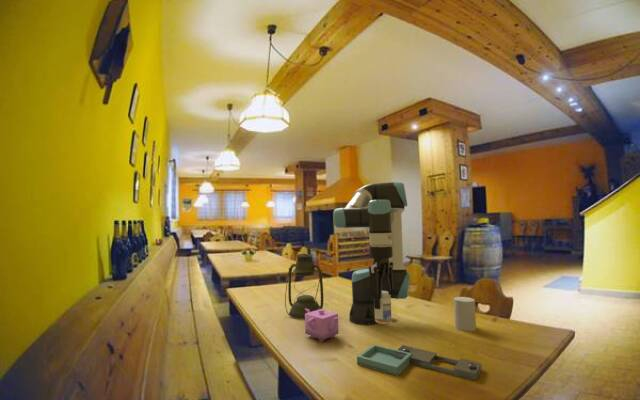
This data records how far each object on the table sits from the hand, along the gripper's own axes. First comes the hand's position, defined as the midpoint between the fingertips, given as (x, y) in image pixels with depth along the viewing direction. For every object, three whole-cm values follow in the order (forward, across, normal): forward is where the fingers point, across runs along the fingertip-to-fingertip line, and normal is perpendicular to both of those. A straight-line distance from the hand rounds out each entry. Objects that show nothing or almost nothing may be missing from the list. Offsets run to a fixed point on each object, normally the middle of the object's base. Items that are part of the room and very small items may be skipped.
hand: (383, 316), depth 106 cm
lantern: (+15, +28, +57) cm, 65 cm away
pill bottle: (+2, 0, 0) cm, 2 cm away
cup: (+15, +49, -14) cm, 53 cm away
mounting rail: (+15, +8, -14) cm, 22 cm away
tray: (+15, 0, 0) cm, 15 cm away
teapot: (+15, +7, +31) cm, 35 cm away
